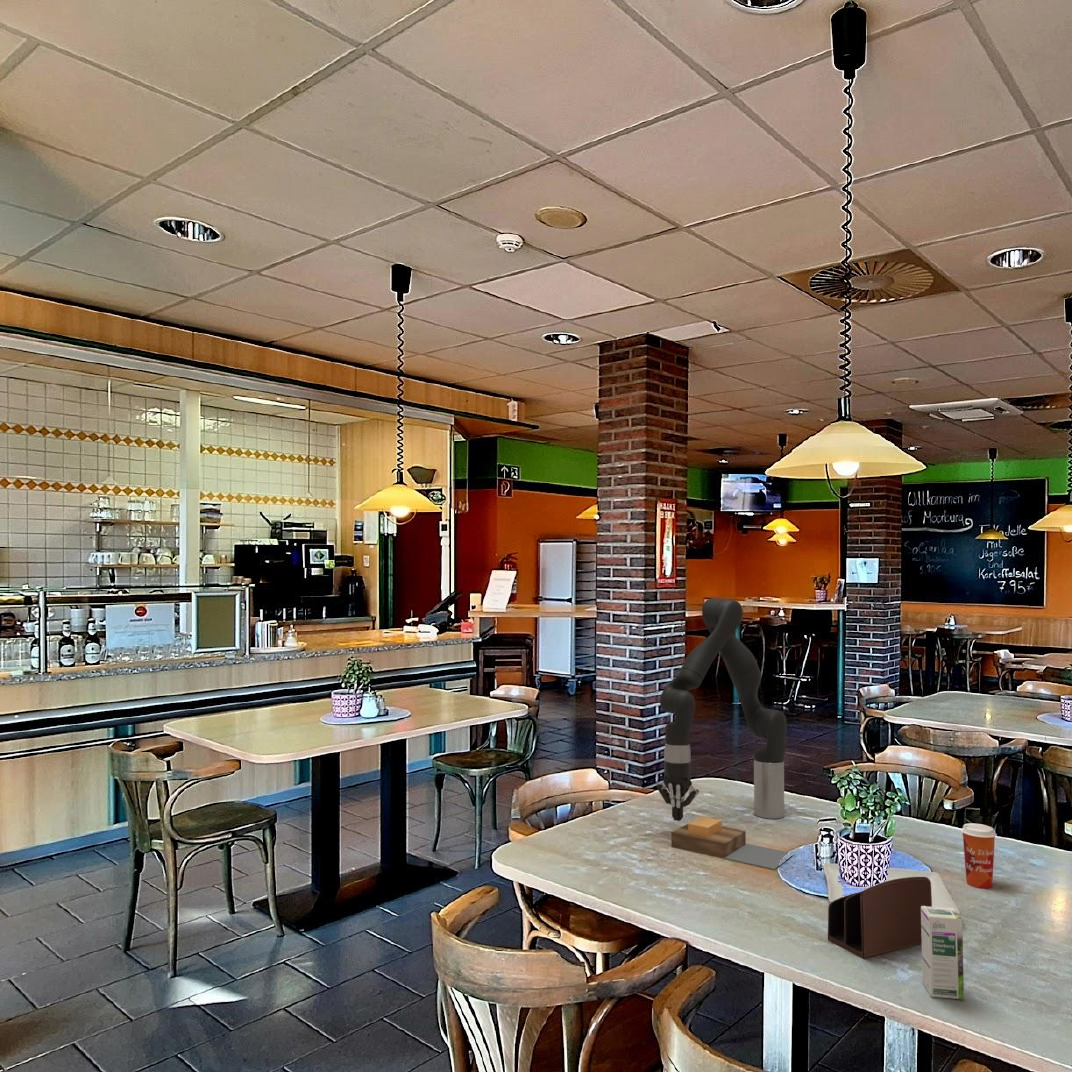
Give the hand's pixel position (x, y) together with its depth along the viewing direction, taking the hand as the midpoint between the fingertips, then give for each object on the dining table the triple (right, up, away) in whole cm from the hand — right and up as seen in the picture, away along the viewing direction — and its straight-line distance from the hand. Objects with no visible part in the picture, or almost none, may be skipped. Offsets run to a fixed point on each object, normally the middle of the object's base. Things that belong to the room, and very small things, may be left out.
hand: (677, 819), depth 243 cm
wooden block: (+8, -5, -6) cm, 11 cm away
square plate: (+42, -5, -44) cm, 61 cm away
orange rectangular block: (+7, 0, -5) cm, 9 cm away
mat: (+20, -5, -15) cm, 25 cm away
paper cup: (+69, -5, -34) cm, 77 cm away
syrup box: (+34, -2, -88) cm, 94 cm away
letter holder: (+31, -3, -66) cm, 74 cm away
